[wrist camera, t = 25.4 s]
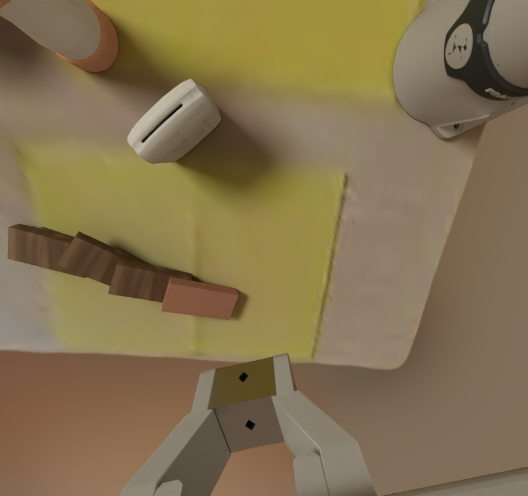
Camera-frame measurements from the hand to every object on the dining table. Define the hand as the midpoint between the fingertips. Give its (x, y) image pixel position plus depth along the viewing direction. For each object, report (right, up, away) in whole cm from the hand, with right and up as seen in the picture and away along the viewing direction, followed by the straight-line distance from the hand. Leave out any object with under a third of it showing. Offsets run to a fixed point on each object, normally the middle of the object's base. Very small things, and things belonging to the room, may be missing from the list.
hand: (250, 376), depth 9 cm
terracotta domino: (-5, -5, +38) cm, 38 cm away
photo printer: (-10, +21, +30) cm, 38 cm away
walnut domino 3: (-12, -2, +36) cm, 39 cm away
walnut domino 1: (-26, +2, +33) cm, 42 cm away
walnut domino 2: (-19, -1, +35) cm, 40 cm away
